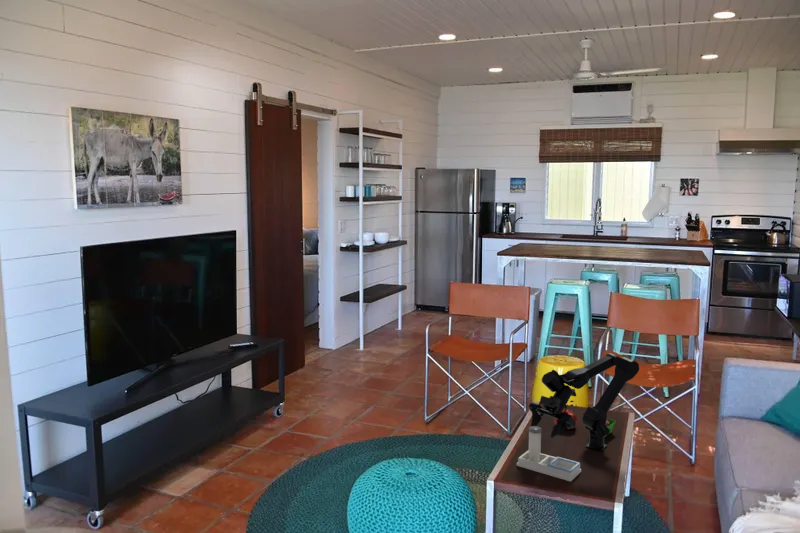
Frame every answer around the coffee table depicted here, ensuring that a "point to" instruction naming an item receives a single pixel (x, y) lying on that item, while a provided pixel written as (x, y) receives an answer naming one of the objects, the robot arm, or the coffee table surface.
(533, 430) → the plug post
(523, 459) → the compartment tray
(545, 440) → the coffee table surface
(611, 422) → the fruit basket
